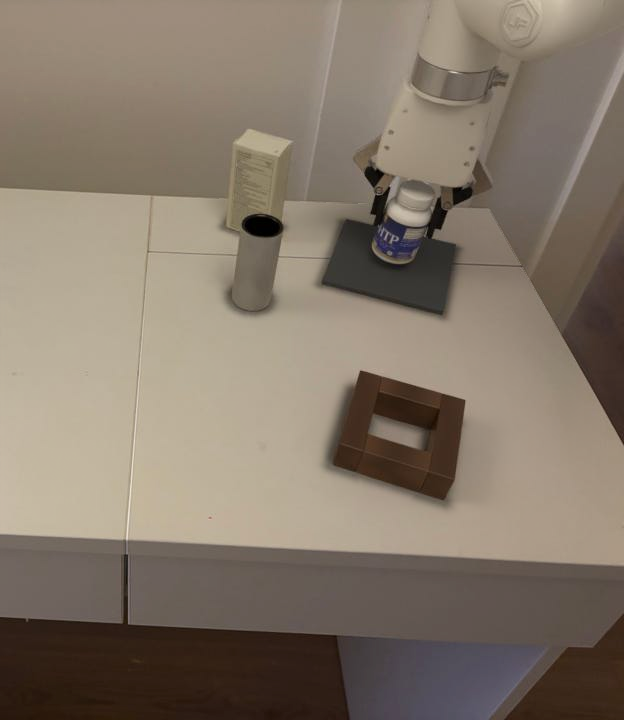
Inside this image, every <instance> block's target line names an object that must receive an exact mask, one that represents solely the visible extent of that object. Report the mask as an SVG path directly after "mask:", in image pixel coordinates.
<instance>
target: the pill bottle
mask: <svg viewBox="0 0 624 720" xmlns="http://www.w3.org/2000/svg"><path fill="white" fill-rule="evenodd" d="M397 189H398V190H397V192H396V194H395V196H392V197H391V198H390V199H389V200H387V202H386V206H385V209H384V213H383V215H382V219H381V222H380V225H378V229H377V231H376V234H375V237H374V239H373V242H372V249H373V251H374V253H375V254H376V255H377V256H378V257H379V258H381V259H382V260H384V261H386V262H389V263H393V264H405V263H408V262H410V261H412V260H413V259H414V257H415V255H416V253H417V251H418V248H419V246H420V244H421V241H422V239H423V237H425V236H426V233H427V229H428V225H429V223H430V221H431V218H432V213H433V210H432V208H431V206H432V205H433V202H434V199H435V197H436V191H435V190H434V188H433V186H431V185H430V184H429V183H426V182H421V181H417V180H412V179H407V180H405V181H402V182H401V183H400V185H399V187H398V188H397Z"/></svg>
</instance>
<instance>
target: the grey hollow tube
mask: <svg viewBox="0 0 624 720" xmlns="http://www.w3.org/2000/svg"><path fill="white" fill-rule="evenodd" d="M284 229H285V228H284V224H283V222H282V220H281V221H280V220H279V219H277V218H276V217H274V216H271V215H268V214H252V215H249V216H247V217H245V218H244V219H243V220H242V222H241V229H240V232H239V236H238V237H239V238H238V244H237V250H236V251H237V252H236V259H235V260H236V262H235V267H234V275H233V281H232V282H233V283H232V289H231V300H232V302H233V304H235V306H237V307H238V308H240V309H241V310H244V311H251V312H258V311H262V310H264V309H266V308H267V307H269V305H270V304H271V301H272V300H271V299H272V296H273V289H274V285H275V279H276V272H277V268H278V262H279V258H280V252H281V246H282V240H283V235H284Z"/></svg>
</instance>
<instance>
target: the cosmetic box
mask: <svg viewBox="0 0 624 720" xmlns="http://www.w3.org/2000/svg"><path fill="white" fill-rule="evenodd" d="M293 145H294V141H293V140H292V139H291V140H290V139H287V138H283V137H280V136H276V135H274V134H270V133H267V132H266V133H265V132H263V131H260V130H259V131H258V130H254V129H251V128H247V129H246V130H245V131H243V133H242V134H240V135H239V136H238V137H237V138H236V139H235V140H234V141H232V150H231V163H230V172H229V173H230V175H229V187H228V199H227V209H226V222H225V223H226V224H225V227H226V228H228V229H230V230H233V231H236V232H239V233H240V229H241V222H242V220H243V219H244V218H245V217H247V216H249V215H252V214H268V215H271V216H274V217H276V218H277V219H279V220H280V221H281V222H282V220H283V214H284V207H285V199H286V193H287V185H288V180H289V173H290V167H291V166H290V165H291V159H292V151H293Z"/></svg>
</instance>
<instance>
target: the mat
mask: <svg viewBox="0 0 624 720" xmlns="http://www.w3.org/2000/svg"><path fill="white" fill-rule="evenodd" d="M378 226H379V225H378ZM378 226H374V225H373V224H371V223H367V222H363V221H358V220H355V219H349V218H345V221H344V224H343V226H342V228H341V231H340V234H339V236H338V239H337V242H336V244H335V247H334V249H333V252H332V255H331V258H330V260H329V262H328V265H327V268H326V271H325V273H324V276H323V278H322V281H321V284H322V285H325V286H328V287H332V288H335V289H339V290H343V291H348V292H352V293H356V294H360V295H363V296H367V297H370V298H375V299H378V300H383V301H386V302H389V303H390V302H391V303H394V304H399V305H402V306H405V307H408V308H409V307H410V308H413V309H416V310H421V311H424V312H425V311H426V312H428V313H429V312H430V313H432V314H437V315H440V316H442V315H443V314H444V311H445V306H446V302H447V295H448V290H449V285H450V282H451V281H450V280H451V275H452V270H453V264H454V260H455V253H456V248H457V244H456V243H453V242H449V241H444V240H440V239H436V238H432V239H430V238H427V237H426V236H424V237H423V239H422V241H421V244H420V246H419V248H418V251H417V253H416V255H415V257H414V259H413V260H412V261H410V262H408V263H405V264H393V263H389V262H386V261H384V260H382V259H381V258H379V257H378V256H377V255H376V254H375V253H374V251H373V249H372V242H373V239H374V237H375V234H376V231H377V229H378Z"/></svg>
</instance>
